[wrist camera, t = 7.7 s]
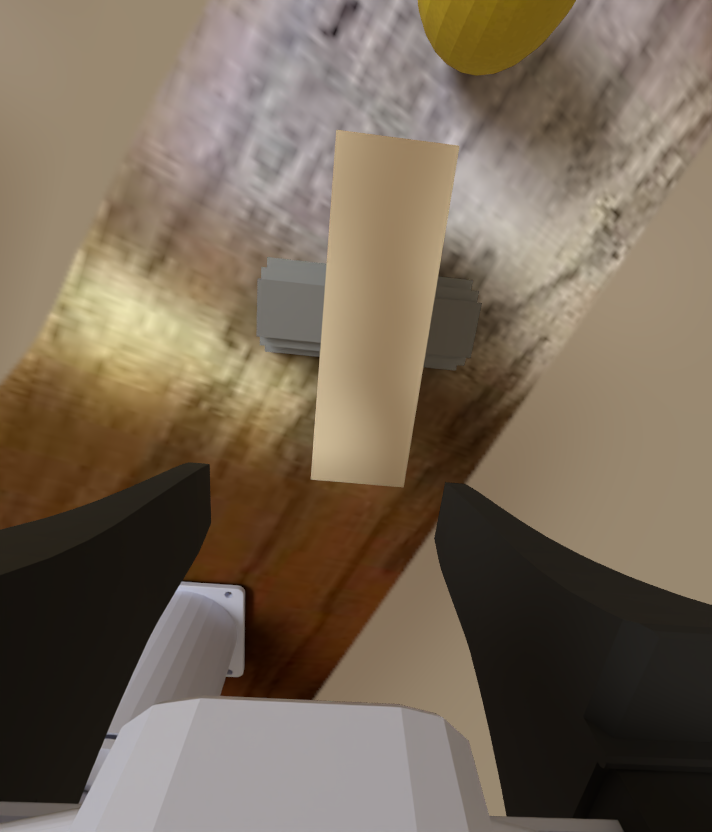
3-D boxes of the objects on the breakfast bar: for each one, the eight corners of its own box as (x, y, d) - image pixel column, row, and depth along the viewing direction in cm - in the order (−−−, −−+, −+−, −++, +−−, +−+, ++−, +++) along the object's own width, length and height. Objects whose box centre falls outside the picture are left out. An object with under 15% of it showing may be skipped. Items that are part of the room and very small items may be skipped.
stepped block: (268, 348, 20) (256, 357, 18) (270, 258, 19) (258, 253, 16) (451, 367, 21) (466, 378, 18) (468, 280, 19) (486, 279, 17)
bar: (320, 431, 19) (310, 479, 14) (340, 178, 15) (336, 129, 10) (389, 437, 19) (403, 487, 14) (425, 189, 15) (459, 145, 11)
